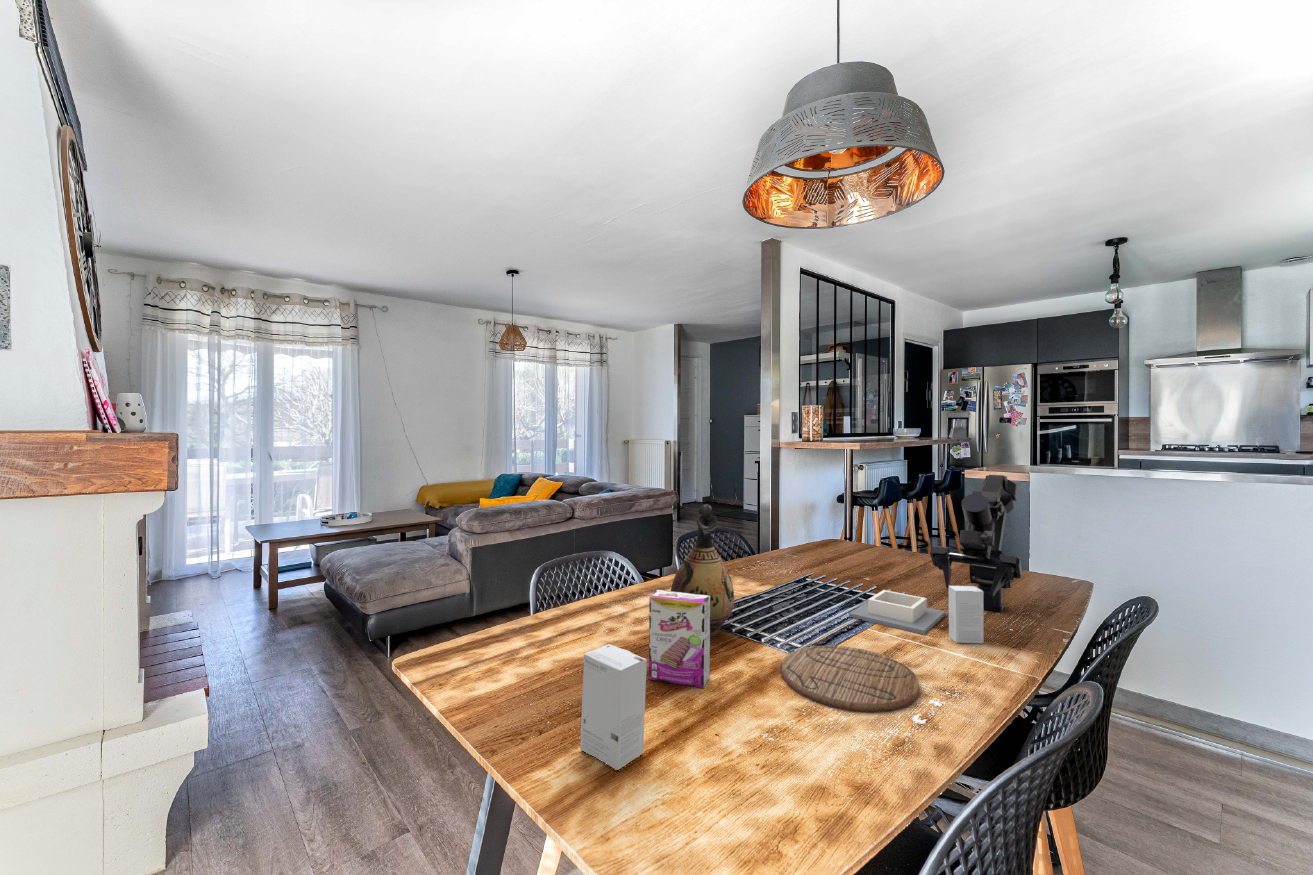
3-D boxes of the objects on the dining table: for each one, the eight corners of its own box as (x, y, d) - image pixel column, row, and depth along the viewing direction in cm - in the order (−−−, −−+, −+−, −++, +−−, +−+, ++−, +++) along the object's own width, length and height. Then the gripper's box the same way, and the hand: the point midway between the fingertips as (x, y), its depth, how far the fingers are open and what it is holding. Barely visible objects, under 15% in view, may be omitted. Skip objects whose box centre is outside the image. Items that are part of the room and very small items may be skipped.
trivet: (910, 729, 88) (910, 718, 88) (763, 691, 101) (763, 681, 101) (925, 671, 110) (925, 661, 110) (802, 645, 123) (802, 637, 123)
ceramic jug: (738, 643, 123) (738, 511, 123) (670, 642, 123) (670, 510, 123) (729, 617, 140) (729, 500, 140) (669, 616, 140) (669, 500, 140)
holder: (883, 602, 148) (883, 589, 148) (926, 611, 141) (926, 598, 141) (867, 612, 140) (868, 599, 140) (913, 623, 133) (913, 608, 133)
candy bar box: (647, 680, 105) (647, 596, 104) (656, 669, 109) (656, 588, 109) (704, 689, 101) (704, 602, 101) (710, 678, 106) (710, 594, 105)
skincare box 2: (974, 637, 126) (975, 585, 126) (984, 644, 122) (984, 591, 122) (947, 636, 127) (947, 585, 127) (955, 643, 123) (956, 590, 123)
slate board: (875, 600, 153) (875, 597, 153) (945, 615, 141) (945, 611, 141) (849, 616, 140) (849, 613, 140) (924, 634, 128) (924, 630, 128)
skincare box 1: (579, 751, 82) (579, 653, 82) (608, 734, 86) (607, 641, 86) (619, 774, 76) (619, 669, 76) (647, 754, 81) (647, 655, 81)
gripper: (932, 513, 137) (919, 565, 129) (1020, 521, 125) (1013, 579, 117) (939, 539, 143) (928, 590, 135) (1024, 550, 131) (1017, 606, 123)
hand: (969, 591), depth 127 cm, fingers open, 9 cm apart
